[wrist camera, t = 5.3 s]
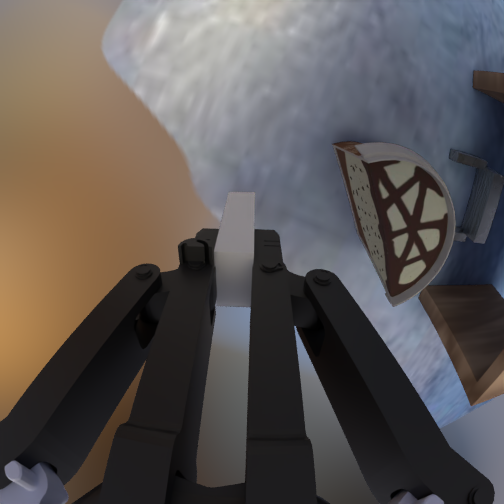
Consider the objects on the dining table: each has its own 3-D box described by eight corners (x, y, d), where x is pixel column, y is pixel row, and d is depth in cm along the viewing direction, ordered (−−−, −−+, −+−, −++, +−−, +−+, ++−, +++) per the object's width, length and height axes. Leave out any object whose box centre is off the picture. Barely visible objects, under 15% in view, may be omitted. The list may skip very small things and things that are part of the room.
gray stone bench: (450, 148, 22) (467, 156, 19) (490, 161, 22) (506, 170, 19) (430, 232, 27) (442, 246, 24) (469, 236, 27) (482, 249, 24)
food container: (411, 227, 27) (459, 285, 18) (359, 245, 28) (393, 311, 20) (388, 110, 21) (453, 129, 12) (326, 128, 22) (365, 153, 14)
